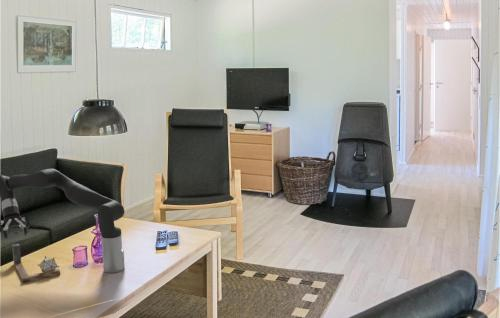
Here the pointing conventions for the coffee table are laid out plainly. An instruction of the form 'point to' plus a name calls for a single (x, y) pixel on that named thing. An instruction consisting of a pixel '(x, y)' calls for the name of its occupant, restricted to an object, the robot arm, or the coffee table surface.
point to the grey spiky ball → (48, 264)
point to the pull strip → (23, 272)
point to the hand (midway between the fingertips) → (16, 236)
